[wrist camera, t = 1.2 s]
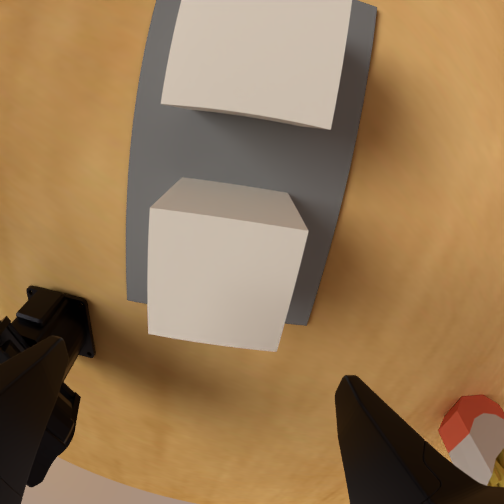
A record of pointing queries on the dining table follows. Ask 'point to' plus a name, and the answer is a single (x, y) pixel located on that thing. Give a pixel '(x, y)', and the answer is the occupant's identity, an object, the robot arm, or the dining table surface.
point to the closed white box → (259, 59)
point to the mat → (244, 153)
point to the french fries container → (476, 438)
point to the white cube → (222, 263)
